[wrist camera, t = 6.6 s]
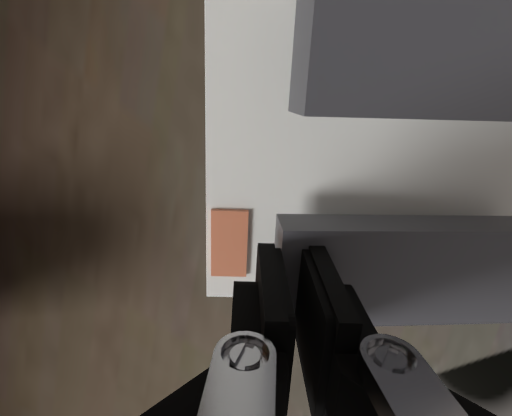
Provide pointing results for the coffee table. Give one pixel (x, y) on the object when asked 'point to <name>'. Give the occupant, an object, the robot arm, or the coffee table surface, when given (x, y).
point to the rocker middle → (403, 59)
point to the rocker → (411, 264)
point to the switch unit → (320, 149)
